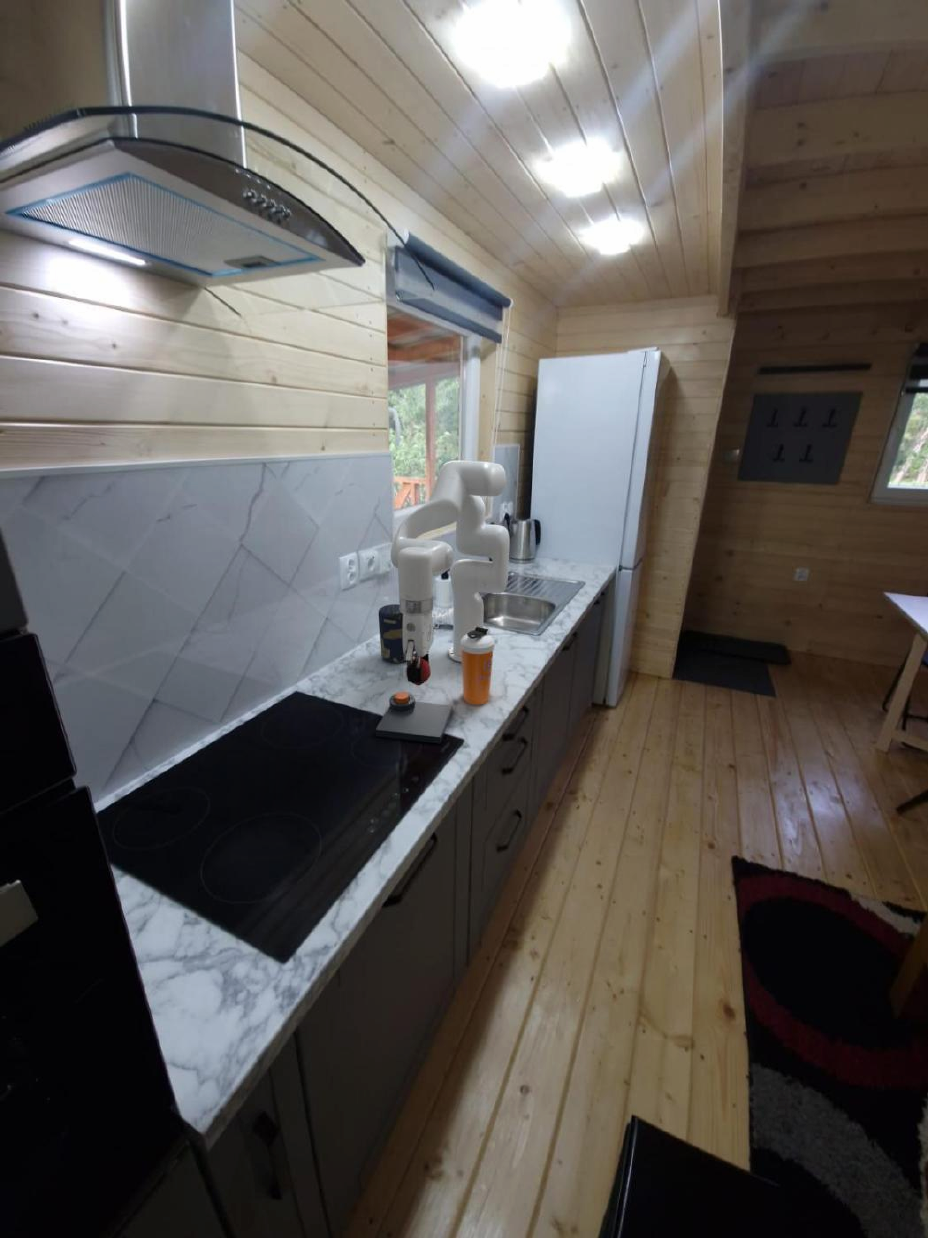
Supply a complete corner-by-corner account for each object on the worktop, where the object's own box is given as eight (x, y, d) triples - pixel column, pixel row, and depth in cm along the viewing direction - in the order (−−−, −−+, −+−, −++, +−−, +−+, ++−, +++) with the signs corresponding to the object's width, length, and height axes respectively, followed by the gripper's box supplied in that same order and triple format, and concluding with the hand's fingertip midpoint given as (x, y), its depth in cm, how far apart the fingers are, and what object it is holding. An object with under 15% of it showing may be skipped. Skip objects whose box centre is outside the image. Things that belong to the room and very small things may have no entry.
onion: (427, 692, 115) (426, 662, 112) (403, 690, 116) (402, 659, 113) (433, 680, 120) (433, 650, 117) (410, 678, 121) (409, 648, 118)
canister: (414, 652, 162) (413, 601, 155) (406, 666, 153) (404, 611, 146) (386, 650, 163) (383, 599, 156) (377, 663, 154) (373, 609, 148)
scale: (394, 702, 133) (393, 691, 132) (453, 709, 130) (453, 697, 129) (374, 736, 119) (374, 723, 118) (440, 744, 117) (440, 731, 115)
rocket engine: (423, 601, 178) (472, 592, 176) (430, 611, 189) (476, 603, 187) (427, 631, 174) (477, 622, 172) (434, 640, 185) (481, 631, 183)
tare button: (397, 696, 130) (397, 691, 130) (410, 697, 130) (410, 692, 129) (393, 703, 127) (393, 698, 127) (406, 704, 127) (406, 699, 126)
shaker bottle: (455, 702, 133) (455, 635, 126) (467, 687, 141) (467, 622, 134) (486, 709, 130) (488, 640, 123) (496, 693, 138) (499, 627, 131)
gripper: (422, 619, 101) (424, 695, 108) (441, 592, 117) (442, 660, 124) (387, 616, 103) (391, 691, 110) (411, 589, 118) (413, 657, 125)
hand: (418, 674), depth 117 cm, fingers closed on onion, 5 cm apart
